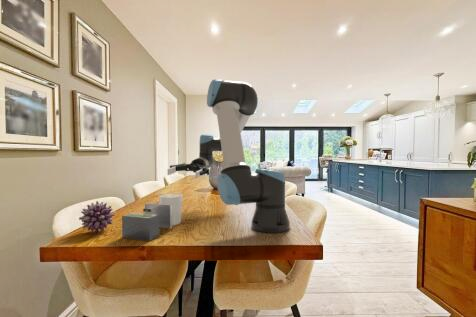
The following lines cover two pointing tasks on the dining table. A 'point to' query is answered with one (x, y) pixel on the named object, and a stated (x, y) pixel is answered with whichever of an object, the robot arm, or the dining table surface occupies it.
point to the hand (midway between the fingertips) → (182, 173)
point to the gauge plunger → (160, 213)
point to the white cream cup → (173, 206)
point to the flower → (96, 216)
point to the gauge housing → (140, 226)
